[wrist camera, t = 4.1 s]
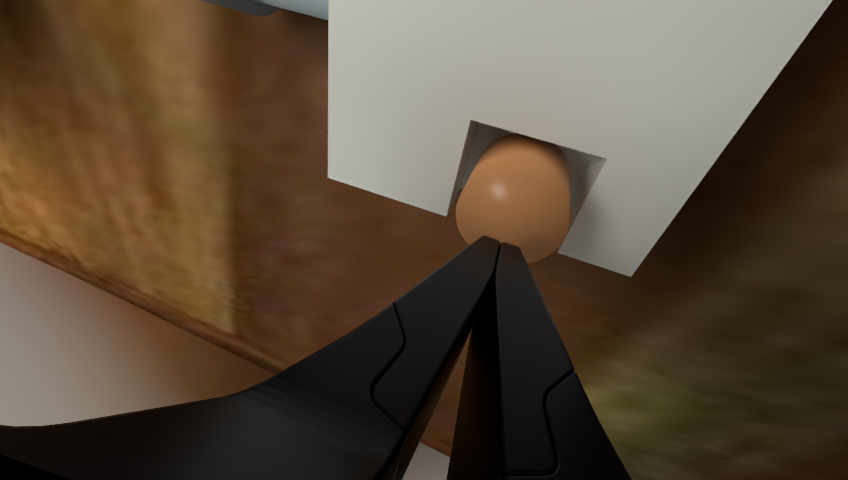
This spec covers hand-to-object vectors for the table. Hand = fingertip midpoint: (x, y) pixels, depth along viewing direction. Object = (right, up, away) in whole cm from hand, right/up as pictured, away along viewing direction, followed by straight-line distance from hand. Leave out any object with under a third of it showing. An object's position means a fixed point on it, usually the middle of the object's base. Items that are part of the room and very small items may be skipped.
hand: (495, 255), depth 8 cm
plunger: (+1, +2, +3) cm, 4 cm away
